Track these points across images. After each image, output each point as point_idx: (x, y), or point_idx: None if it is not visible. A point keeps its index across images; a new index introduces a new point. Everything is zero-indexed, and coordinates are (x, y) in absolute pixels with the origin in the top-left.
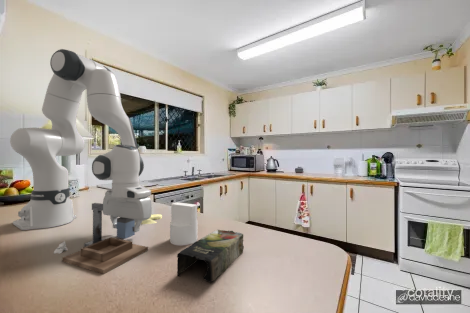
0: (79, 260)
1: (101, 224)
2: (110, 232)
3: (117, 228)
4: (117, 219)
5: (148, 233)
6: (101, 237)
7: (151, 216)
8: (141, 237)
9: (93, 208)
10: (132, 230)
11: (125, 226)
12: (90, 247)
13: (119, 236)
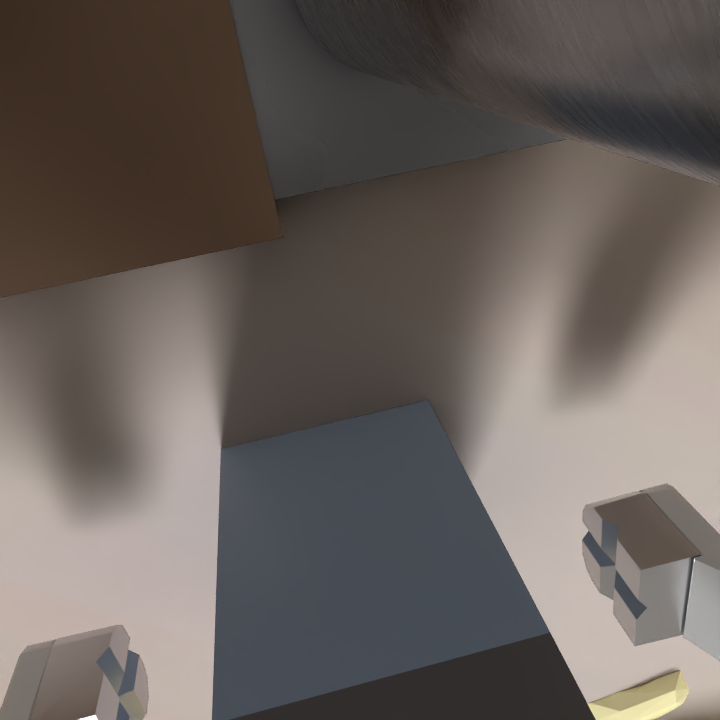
0: None
1: (442, 59)
2: (709, 421)
3: (461, 508)
4: (558, 706)
5: (150, 716)
6: (331, 45)
7: None
8: (56, 614)
9: None
10: (105, 642)
11: (216, 642)
12: None
13: (368, 426)
